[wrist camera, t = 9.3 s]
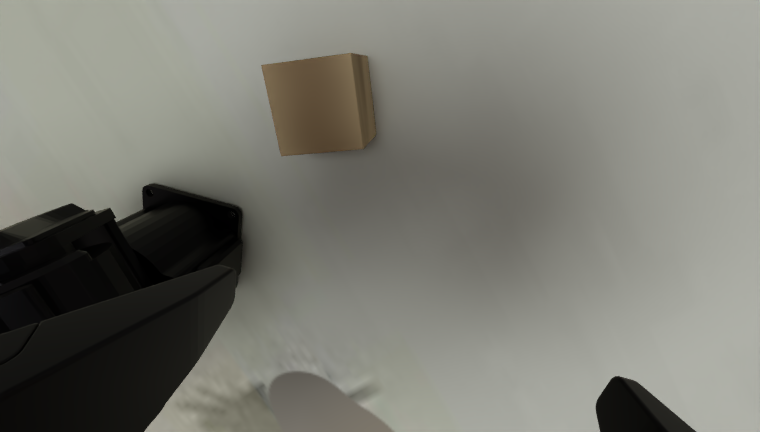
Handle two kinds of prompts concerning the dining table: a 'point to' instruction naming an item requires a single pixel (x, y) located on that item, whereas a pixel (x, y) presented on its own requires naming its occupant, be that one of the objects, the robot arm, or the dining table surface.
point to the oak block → (321, 104)
